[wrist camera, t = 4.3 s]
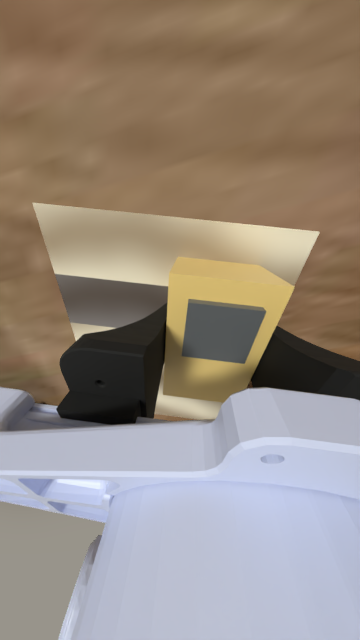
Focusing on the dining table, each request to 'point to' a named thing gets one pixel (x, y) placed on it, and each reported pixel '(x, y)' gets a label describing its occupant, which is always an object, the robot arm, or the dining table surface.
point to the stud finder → (218, 326)
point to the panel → (151, 267)
